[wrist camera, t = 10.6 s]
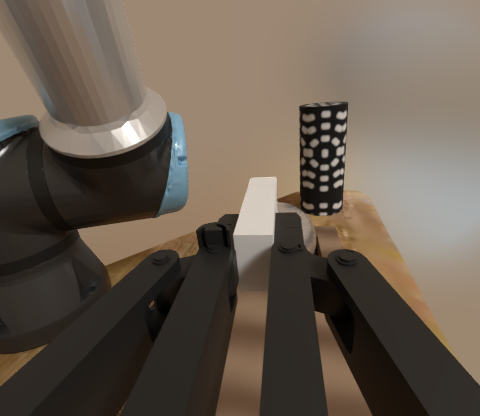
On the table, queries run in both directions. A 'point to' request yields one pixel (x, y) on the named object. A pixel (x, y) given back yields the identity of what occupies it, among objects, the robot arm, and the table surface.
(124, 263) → the table surface
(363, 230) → the table surface
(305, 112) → the white-spotted black cylinder
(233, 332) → the brown wooden frame
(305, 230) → the steel ball
